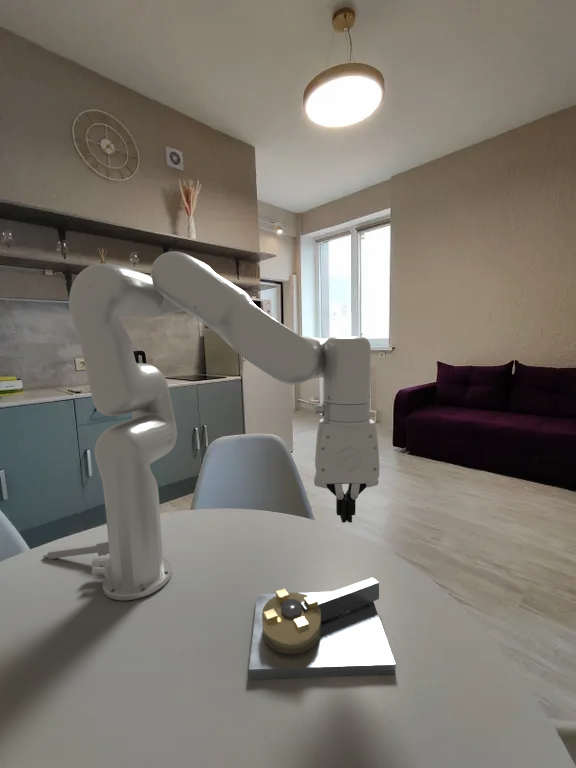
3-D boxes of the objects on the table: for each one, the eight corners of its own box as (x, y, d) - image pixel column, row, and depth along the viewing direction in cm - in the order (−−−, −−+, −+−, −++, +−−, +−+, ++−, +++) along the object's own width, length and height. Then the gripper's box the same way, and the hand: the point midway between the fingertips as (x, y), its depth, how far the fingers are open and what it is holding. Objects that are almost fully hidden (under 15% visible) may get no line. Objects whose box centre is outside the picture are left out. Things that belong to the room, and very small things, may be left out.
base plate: (249, 679, 49) (248, 668, 49) (257, 602, 64) (257, 593, 64) (395, 674, 49) (395, 663, 49) (369, 598, 64) (369, 589, 64)
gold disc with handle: (254, 619, 58) (253, 597, 57) (360, 582, 66) (360, 562, 66) (276, 663, 50) (275, 638, 49) (393, 614, 58) (393, 592, 58)
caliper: (130, 563, 77) (130, 533, 77) (127, 565, 76) (127, 535, 76) (46, 556, 80) (46, 528, 81) (42, 558, 79) (42, 530, 80)
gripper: (302, 417, 56) (302, 530, 57) (398, 416, 56) (396, 529, 58) (299, 408, 63) (300, 509, 65) (385, 407, 63) (383, 508, 65)
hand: (345, 518), depth 61 cm, fingers closed
